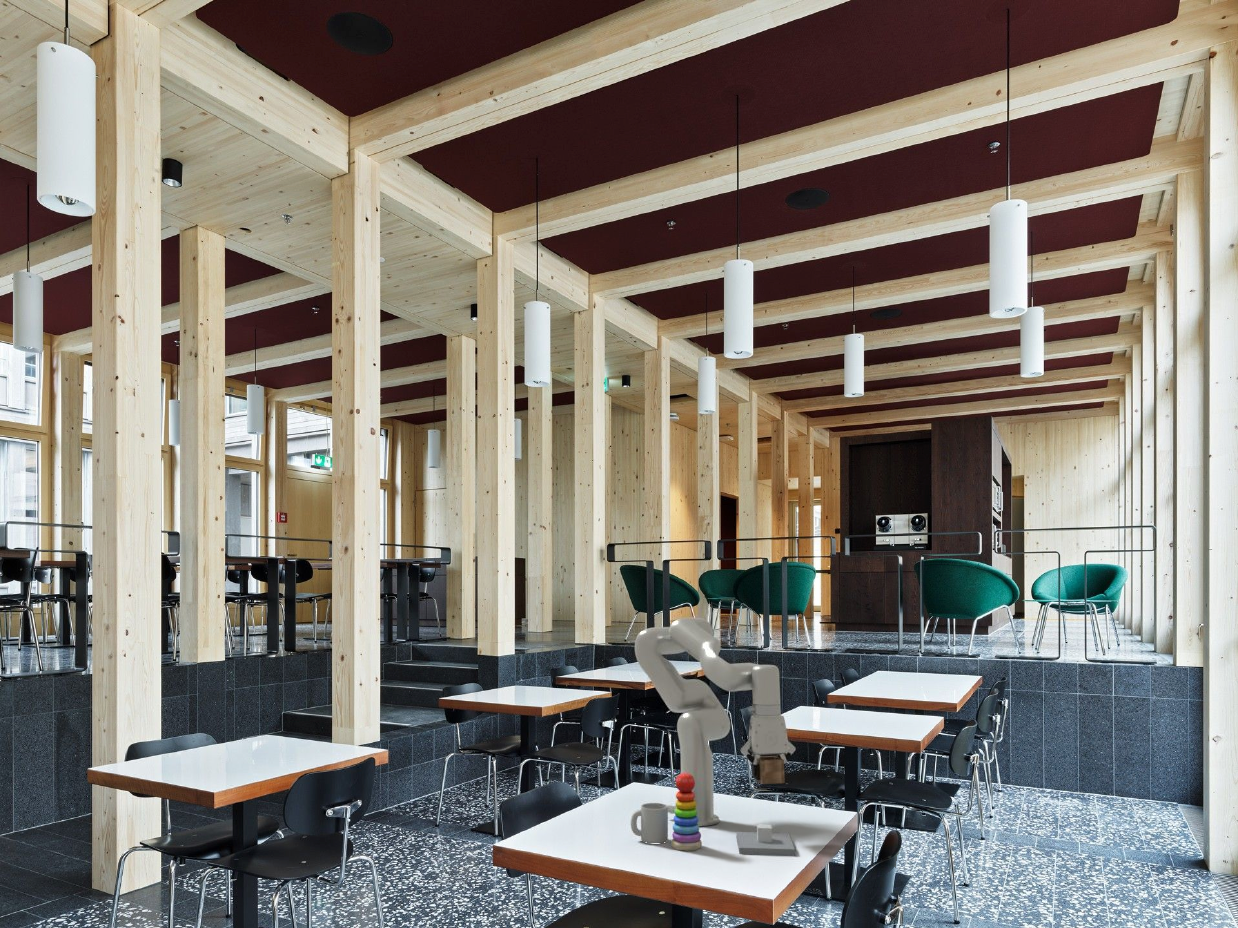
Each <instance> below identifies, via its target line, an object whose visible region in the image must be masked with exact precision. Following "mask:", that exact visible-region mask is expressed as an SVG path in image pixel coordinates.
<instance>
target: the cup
mask: <svg viewBox="0 0 1238 928" xmlns="http://www.w3.org/2000/svg"><path fill="white" fill-rule="evenodd" d="M667 805H668V804H666V803H659V802H650V803H649V802H647V803H646V802H645V803H642V804H641V806H640V809H637V810H635V811H634V812H632V815H631V818H630V828H631V831H632V833H633V834H634V835H635V836H638V837H640V840H641V842H642V841H644V842H647V843H663V844H665V843H664V842H666V841H667V842H668V837H669V828H668V827H669V820H668V819H669V816H668V815H669V812H668V806H667ZM639 817H640V829H639V828H638V823H637V821H638V818H639ZM644 842H643V843H644ZM667 842H666V843H667ZM647 843H646V844H647Z"/></svg>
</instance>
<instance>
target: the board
mask: <svg viewBox="0 0 1238 928" xmlns="http://www.w3.org/2000/svg"><path fill="white" fill-rule="evenodd" d="M735 833H736V834H735V836H736V837H735V838H736V843H737V846H738V847H737V848H738V853H739V854H740V855H762V856H763V855H764V856H765V855H766V856H767V855H768V856H793V855H794V856H796V849H795V846H794V844H793V842H792V839H791V837H790V834H789V833H788V832H787V833H786V832H785V833H784V832H783V833H782V832H773V827H772V825H771V824H760V823H758V824H756V832H754V831H749V832H748V831H746V832H744V831H736V832H735Z"/></svg>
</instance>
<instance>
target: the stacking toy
mask: <svg viewBox="0 0 1238 928" xmlns="http://www.w3.org/2000/svg"><path fill="white" fill-rule="evenodd" d="M675 786H676V788H677V790H678V791H677V793H676V794H675V798H676V801H675V806H676V807H677V808H675V811H674V812H675V813H674V817H673V822H674V823H673V824H672V831H673V832H672V839H671V847H672V848H674V849H675V848H676V849H675V850H678V849H679V850H678V851H683V850H691V851H696V850H699V849H701V847H702V846H703V845H702V844H703V843H702V840H701V838H702V833H701V832H700V831H699V830H700V826H699V825H698V824H697V823H698V817H697V816H696V815H697V809H696V808H695V807H696V805H697V804H696V801H695V800H694V798H695V794H694V792H692V790H693V788H694V786H695V780H694V778H693V776H692V775H691V774H689V773H681V772H680V774H678V775H677V776H676V779H675Z"/></svg>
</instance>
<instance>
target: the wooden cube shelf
mask: <svg viewBox="0 0 1238 928" xmlns="http://www.w3.org/2000/svg"><path fill="white" fill-rule="evenodd" d="M758 765H759V767H760V779H759V780H756V779H754V778H753V780H754V781H756V782H757V783H759V784H762V785H768V784H769V785H771V784H785V782H786V781H785V778H786V777H785V776H786V775H784V760H783V759H781V758H779V757H778V756H777V755H769V756H765V755H764V756H763V755H762V756H760V758H759V761H758Z"/></svg>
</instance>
